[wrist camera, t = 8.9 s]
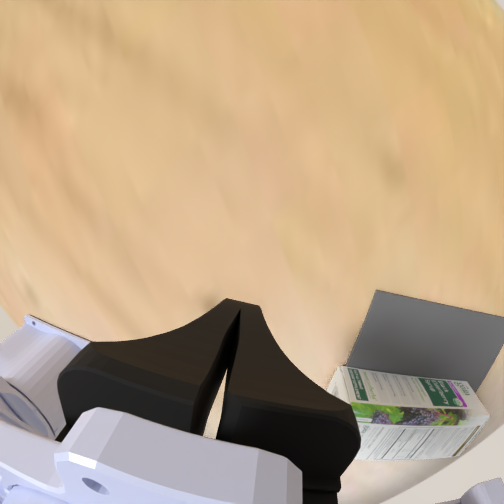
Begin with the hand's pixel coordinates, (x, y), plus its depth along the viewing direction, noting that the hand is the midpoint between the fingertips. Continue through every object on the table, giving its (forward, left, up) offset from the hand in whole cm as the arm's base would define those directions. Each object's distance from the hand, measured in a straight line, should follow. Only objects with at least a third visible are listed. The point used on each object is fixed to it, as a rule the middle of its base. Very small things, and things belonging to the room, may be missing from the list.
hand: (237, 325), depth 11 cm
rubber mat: (+17, -8, -10) cm, 21 cm away
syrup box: (+8, -10, -7) cm, 15 cm away
